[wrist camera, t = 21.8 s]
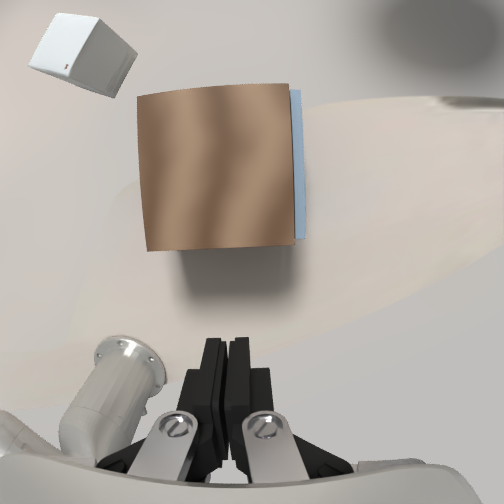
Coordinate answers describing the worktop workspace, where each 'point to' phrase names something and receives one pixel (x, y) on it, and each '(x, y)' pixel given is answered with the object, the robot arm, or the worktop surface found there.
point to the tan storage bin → (216, 167)
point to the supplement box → (84, 54)
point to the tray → (298, 163)
